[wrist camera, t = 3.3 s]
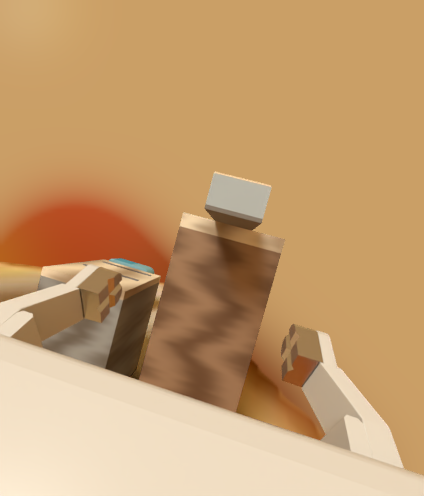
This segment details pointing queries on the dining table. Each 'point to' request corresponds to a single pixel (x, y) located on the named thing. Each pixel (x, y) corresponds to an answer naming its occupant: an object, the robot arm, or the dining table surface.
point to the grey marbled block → (106, 319)
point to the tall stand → (211, 310)
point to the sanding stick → (237, 201)
